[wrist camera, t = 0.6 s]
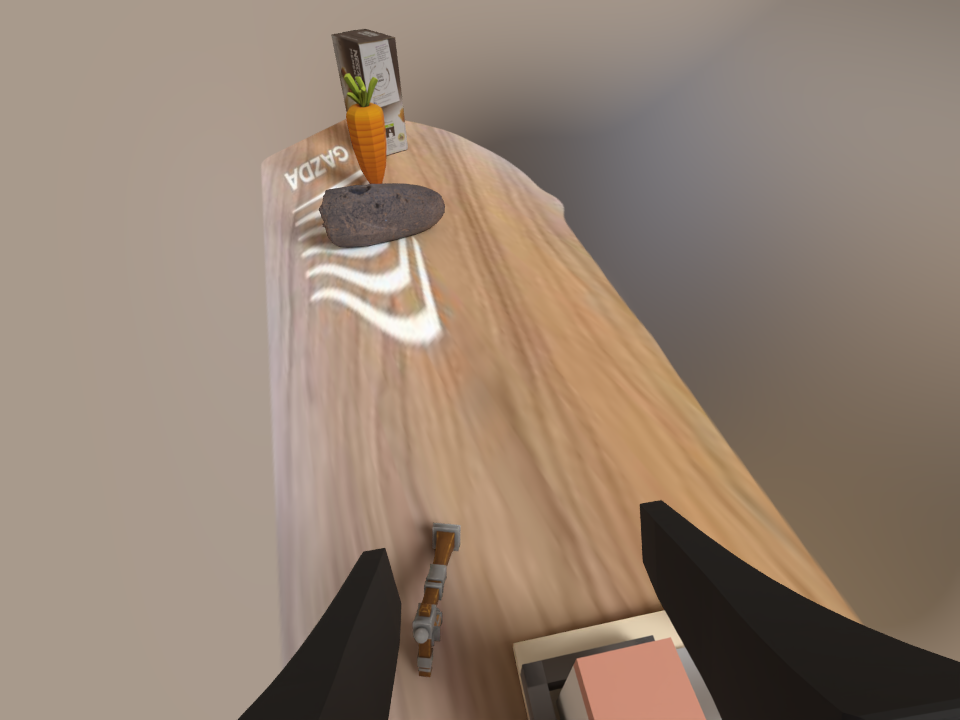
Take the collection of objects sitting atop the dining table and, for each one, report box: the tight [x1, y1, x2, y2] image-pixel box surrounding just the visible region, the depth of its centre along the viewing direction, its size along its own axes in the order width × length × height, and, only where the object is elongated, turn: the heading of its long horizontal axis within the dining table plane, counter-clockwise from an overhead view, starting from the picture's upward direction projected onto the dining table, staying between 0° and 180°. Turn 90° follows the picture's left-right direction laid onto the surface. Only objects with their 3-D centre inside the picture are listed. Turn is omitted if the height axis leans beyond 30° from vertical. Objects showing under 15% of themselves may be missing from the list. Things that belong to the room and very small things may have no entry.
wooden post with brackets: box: [413, 523, 460, 677], centre depth 28 cm, size 2×8×4 cm, turn 174°
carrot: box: [344, 73, 387, 184], centre depth 64 cm, size 5×5×15 cm
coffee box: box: [331, 29, 408, 155], centre depth 76 cm, size 9×6×16 cm
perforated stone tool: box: [319, 183, 445, 247], centre depth 58 cm, size 15×5×7 cm, turn 109°
